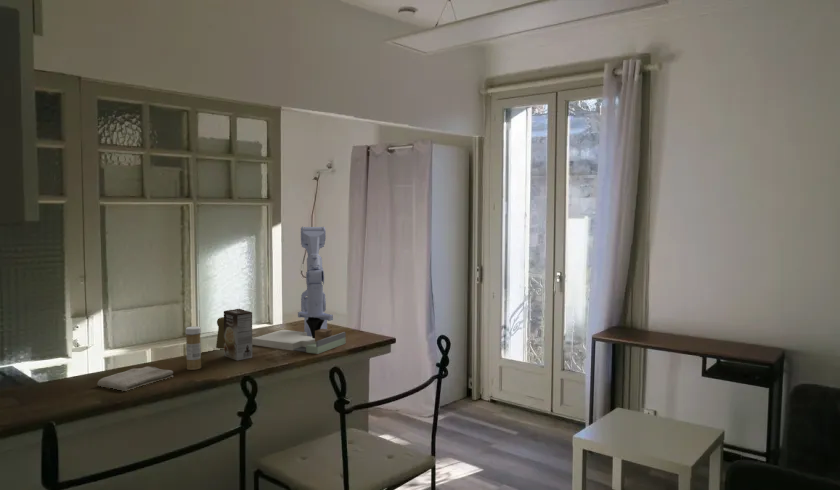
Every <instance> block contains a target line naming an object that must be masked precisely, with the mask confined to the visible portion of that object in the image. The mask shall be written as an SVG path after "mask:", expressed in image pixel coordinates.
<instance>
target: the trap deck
mask: <svg viewBox="0 0 840 490" xmlns="http://www.w3.org/2000/svg"><path fill="white" fill-rule="evenodd" d="M346 332H347V331H346ZM346 332H345V331H343V332H340V333H337V334H334V335H333V334H332V336H330V337H327V338H324V339H322V340H319V341H316V342H315V338H312V337H310V336H307V332H304V331H298V330H297V331H296V330H289V329H280V330H275V331H274V332H269V333H265V334H263V335H259V336H256V337H252V346H259V347H265V348H272V349H280V350H287V351H293V352H303V353H308V354H316V355H319V354H322V353H324V352H326V351H330V350H332V349H334V348H338V347H341V346H343V345H345V344H346V342H347V341H346V336H347V335H346Z"/></svg>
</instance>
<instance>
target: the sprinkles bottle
mask: <svg viewBox="0 0 840 490" xmlns="http://www.w3.org/2000/svg"><path fill="white" fill-rule="evenodd" d="M201 334H202V328H201V327H200V326H198V325H197V326H194V325H193V326H187V327H186V328H185V337H186V339H185V340H186V344H185V347H186V349H185V350H186V353H185V354H186V370H188V371H196V370H200V369H201V368H202V346H201V345H202V344H201Z"/></svg>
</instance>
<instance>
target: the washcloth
mask: <svg viewBox="0 0 840 490" xmlns="http://www.w3.org/2000/svg"><path fill="white" fill-rule="evenodd" d="M173 374H174V371H173V370H171V369H160V368H158V367H156V366H144V367H138V368H131V369H128V370H126V371H123V372H122V371H121V372H118V373H115V374H112V375H108V376H104V377H102V378H100V379H99V380H98V381H97V383H96V384H97V386H99V387H100V386H101V387H100V388H103V387H109V388H108V389H110V388H113V389H112V390H114V389H117V390H122V391H121V392H123V391H127V390H130V389H133V390H135V389H134V388H136V387H139V386H142V385H146V384H149V383H152V384H154V383H153V382H156V381H159V380H162V381H164V380H163V379H165V380H168V379H167V378H169V379H171V378H170V377H172V378H174V375H173ZM159 382H160V381H159ZM156 383H157V382H156ZM149 385H150V384H149ZM146 386H147V385H146ZM117 390H116V391H117ZM130 391H131V390H130ZM127 392H128V391H127Z"/></svg>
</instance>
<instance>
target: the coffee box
mask: <svg viewBox="0 0 840 490" xmlns="http://www.w3.org/2000/svg"><path fill="white" fill-rule="evenodd" d="M223 317H224V349H223V354H224V357H227V358H229V359H231V360H235V361H242V360H247V359H251V358H253V345H252V338H253V312H252V311H249V310H245V309H242V308H233V309H228V310H223Z"/></svg>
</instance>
